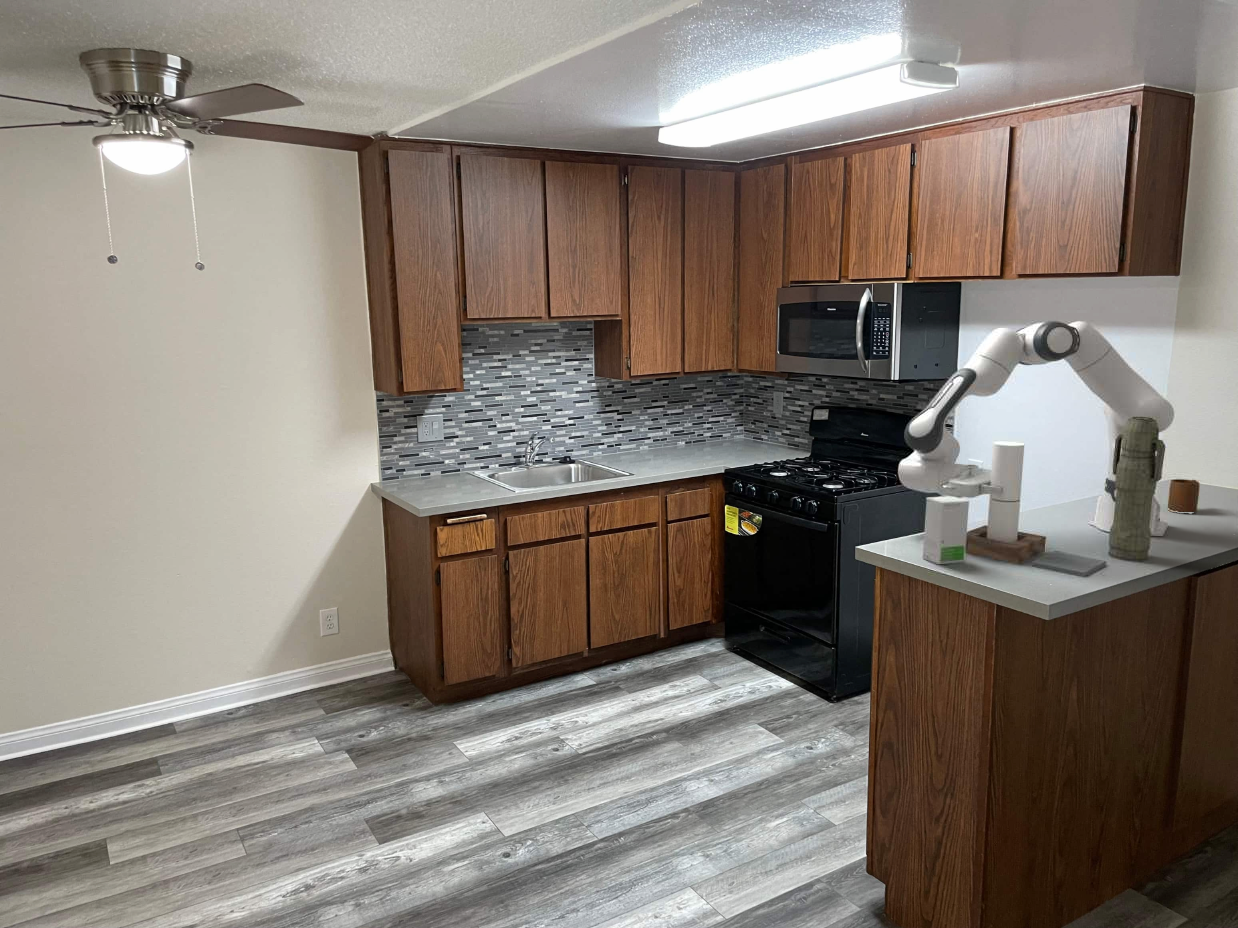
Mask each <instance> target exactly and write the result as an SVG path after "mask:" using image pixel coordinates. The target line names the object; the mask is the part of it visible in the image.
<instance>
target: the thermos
mask: <svg viewBox="0 0 1238 928" xmlns="http://www.w3.org/2000/svg"><path fill="white" fill-rule="evenodd" d="M1159 433H1160V432H1159V429H1158V425H1157V421H1156V420H1153V418H1148V417H1131V418H1129V419H1128V420H1127V422H1126V424H1125V427H1124V429H1123V434H1121V435H1119V436H1118V437H1117V438H1116V439H1115V449H1114V459H1113V474H1114V475H1116V476H1115V477H1116V479H1115V487H1116V490H1117V491H1116V501H1115V511H1114V520H1113V525H1112V526H1111V528H1110V532H1109V537H1108V546H1109V547H1108V552H1107V553H1108V556H1109V557H1110V558H1114V559H1117V560H1121V561H1128V562H1145V561H1147V560H1148V559H1149V551H1150V547H1151V539H1152V538H1151V537H1152V536H1151V531H1150V528H1149V526H1150V516H1151V507H1152V498H1153V492H1154V491H1155V492H1156V488H1157V483H1158V482H1159V481H1161V480H1162V475H1163V468H1164V467H1163V466H1164V459H1165V452H1166V445H1165V442H1164V441H1163V439H1160V438H1159V435H1160V434H1159ZM1121 443H1122V454H1121V457H1120V453H1121ZM1156 482H1157V483H1156Z"/></svg>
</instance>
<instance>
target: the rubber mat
mask: <svg viewBox="0 0 1238 928" xmlns="http://www.w3.org/2000/svg"><path fill="white" fill-rule="evenodd" d="M1106 565H1107V560H1103V559H1098V558H1093V557H1087V556H1083V555H1077V554H1072V553H1069V552H1068V553H1067V552H1063V551H1057V550H1056V551H1052V552H1051V553H1048V554H1047V555H1044V556H1042V557H1040V558H1038V559H1035V560H1033V561H1031V566H1032V567H1034V566H1036V568H1040V569H1044V570H1045V569H1046V570H1049V571H1054V572H1059V573H1064V574H1069V575H1072V576H1077V577H1082V578H1084V577H1086V576H1088V575H1089V574H1091V573H1094V572H1096V571H1097V570H1100V569H1101V568H1104V567H1105V566H1106Z"/></svg>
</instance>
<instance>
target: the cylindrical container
mask: <svg viewBox="0 0 1238 928" xmlns="http://www.w3.org/2000/svg"><path fill="white" fill-rule="evenodd" d="M1024 454H1025V443H1024V442H1019V441H1010V440H1009V441H1007V440H997V441H994V442H993V445H992V459H991V470H992V471H991V486H994V487H995V486H999V487H1002V488H1003V493H1002V494H999V495H997V494H989V501H988V502H989V504H988V518H987V526H988V529H987V538H988V539H993V540H998V541H1003V542H1008V543H1013V542H1015V541H1017V535H1018V531H1019V519H1020V506H1021V492H1022V481H1023V468H1024V457H1025V456H1024Z"/></svg>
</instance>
